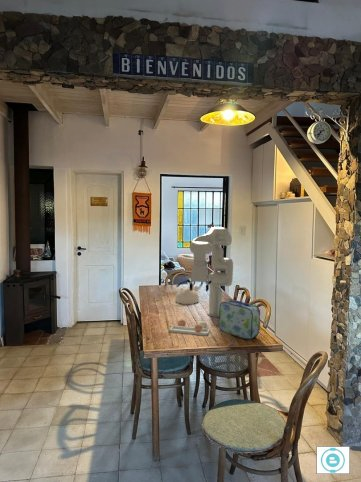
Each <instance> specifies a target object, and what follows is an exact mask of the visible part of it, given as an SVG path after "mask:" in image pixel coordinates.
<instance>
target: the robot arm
mask: <svg viewBox="0 0 361 482" xmlns="http://www.w3.org/2000/svg"><path fill="white" fill-rule="evenodd" d="M232 240H233V239H232V236H231V232H230V231H229V230H228V229H227V228H226V227H211V228H209V229H208V230H207V231H206V233H204V234H203V235H200V236H197V237H196V238H194V239H193V240H192V241H191V243H190V245H189V250H190V252H191V253H192V254H193V264H192V266H191V271H190V272H191V273H190V274H188V275H185V277H184V278H185V279H186V280H185V281H187V282H186V283H188V284H189V288H190V291H192V283H193V282H195V283H196V282H199V283H205V284H206V285H205V292H206V293H207V292H208V291H209V292H208V293H209V299H208V301H209V303H208V307H209V308H208V311H207V312H206V315H207V316H210V317H214V318H215V317H217V318H219V308H220V304H221V303H222V302H223V289H222V288H221V287H223V286H224V287H231V286H232V284H233V278H234V277H233V275H234V273H233V272H234V262H233V259H232V258H229V257H224V253H225V252H224V249H223V248H222V246H226V247H227V246H228V247H229V246H230V245H231V244H232ZM210 254H211V262H210V264H211V269H212V270H214V271H213V272H211V273H208V272H209V271H208V264H209V261H207V255H210ZM219 271H220V272H219ZM189 278H190V279H189Z"/></svg>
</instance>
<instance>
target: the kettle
mask: <svg viewBox="0 0 361 482" xmlns="http://www.w3.org/2000/svg"><path fill="white" fill-rule="evenodd" d="M185 283H188V282H187V280H184V281H181V282H179V283H178V284H177V285H176V287H180V286H181V285H183V284H185ZM198 289H199V287H198V286H197V285H195V286H194V283H193V282H192V291H190V287H183V288H180V290H178V291H177V292H176V294H175V298H174V299H175V300H174V301H175V303H178V304H180V303H181V304H180V305H194V303H195V304H197V302H198V303H199V300H200V299H199V295H198V292H197V290H198Z"/></svg>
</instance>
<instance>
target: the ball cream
mask: <svg viewBox="0 0 361 482" xmlns="http://www.w3.org/2000/svg"><path fill="white" fill-rule="evenodd" d="M199 324H200V325H201V326H202V328H205V329H207V327H208V324H207V322H206V321H205V320H204V321H203V320H202V321H200V322H199Z"/></svg>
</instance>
